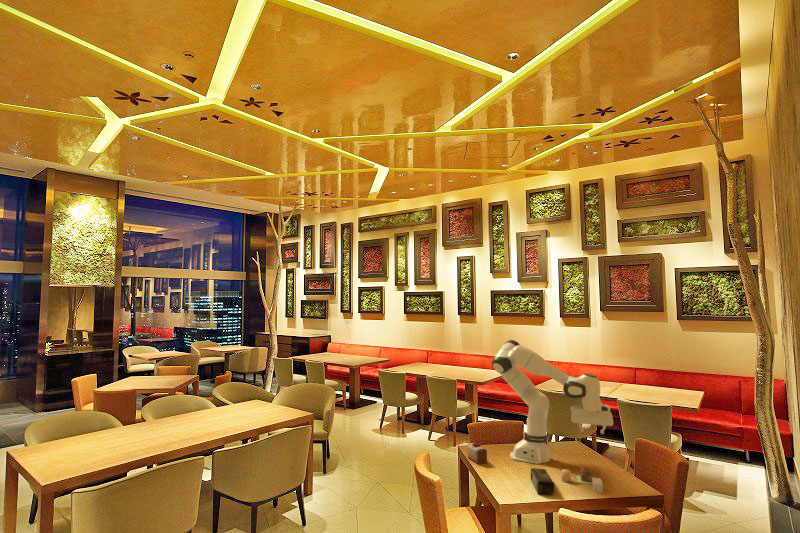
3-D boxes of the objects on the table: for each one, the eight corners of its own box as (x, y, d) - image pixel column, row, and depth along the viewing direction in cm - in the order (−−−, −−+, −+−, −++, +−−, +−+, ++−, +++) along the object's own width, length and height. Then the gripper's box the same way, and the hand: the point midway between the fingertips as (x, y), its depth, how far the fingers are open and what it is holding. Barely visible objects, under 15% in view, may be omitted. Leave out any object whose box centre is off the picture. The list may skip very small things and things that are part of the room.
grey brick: (603, 493, 217) (602, 484, 217) (594, 492, 218) (593, 483, 218) (600, 486, 224) (600, 478, 225) (592, 485, 225) (591, 477, 226)
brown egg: (561, 482, 230) (561, 471, 230) (561, 478, 234) (561, 468, 234) (571, 483, 228) (570, 472, 229) (570, 479, 232) (570, 469, 233)
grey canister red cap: (465, 457, 265) (465, 440, 266) (477, 456, 268) (477, 438, 269) (477, 465, 252) (477, 447, 253) (489, 463, 255) (489, 445, 256)
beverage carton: (546, 480, 232) (546, 467, 232) (554, 496, 213) (554, 482, 213) (530, 479, 233) (530, 466, 233) (537, 495, 214) (537, 481, 214)
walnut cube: (581, 480, 229) (581, 470, 230) (580, 477, 234) (580, 467, 235) (592, 482, 228) (592, 471, 228) (591, 478, 233) (590, 468, 233)
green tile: (577, 483, 228) (577, 481, 228) (576, 476, 237) (576, 475, 237) (597, 485, 226) (597, 484, 226) (594, 478, 234) (594, 477, 234)
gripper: (570, 405, 236) (571, 432, 235) (613, 408, 230) (614, 436, 229) (570, 403, 242) (570, 429, 241) (611, 405, 236) (612, 433, 235)
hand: (592, 432), depth 235 cm, fingers open, 8 cm apart
